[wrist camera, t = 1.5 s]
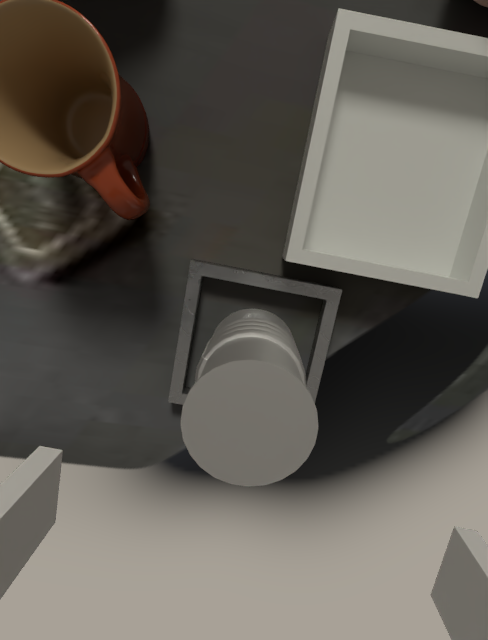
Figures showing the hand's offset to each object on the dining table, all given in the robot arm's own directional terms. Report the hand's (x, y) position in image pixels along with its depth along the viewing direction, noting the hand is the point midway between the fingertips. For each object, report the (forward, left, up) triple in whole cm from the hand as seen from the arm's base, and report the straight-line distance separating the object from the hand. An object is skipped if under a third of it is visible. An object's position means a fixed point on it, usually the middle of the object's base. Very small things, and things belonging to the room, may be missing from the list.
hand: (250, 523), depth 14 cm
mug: (-13, +13, -22) cm, 29 cm away
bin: (+8, +16, -22) cm, 28 cm away
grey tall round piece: (0, 0, -22) cm, 22 cm away
